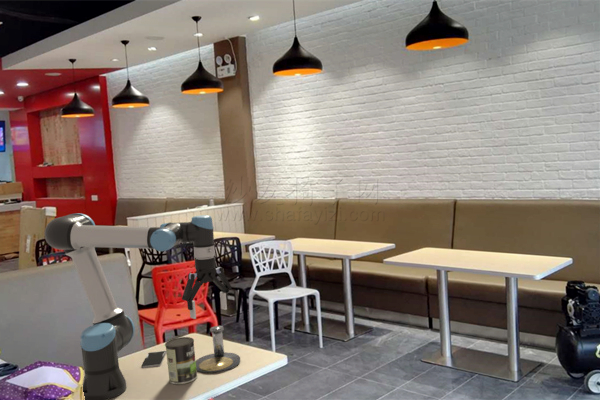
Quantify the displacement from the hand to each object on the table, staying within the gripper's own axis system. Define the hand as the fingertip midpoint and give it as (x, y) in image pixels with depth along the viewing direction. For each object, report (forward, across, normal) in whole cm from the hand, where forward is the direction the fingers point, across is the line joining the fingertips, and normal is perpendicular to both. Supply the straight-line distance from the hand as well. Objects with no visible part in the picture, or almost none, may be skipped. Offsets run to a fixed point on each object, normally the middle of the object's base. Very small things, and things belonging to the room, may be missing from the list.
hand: (209, 313), depth 204 cm
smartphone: (+24, -8, +31) cm, 40 cm away
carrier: (+22, +6, +6) cm, 24 cm away
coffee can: (+23, -10, +4) cm, 26 cm away
